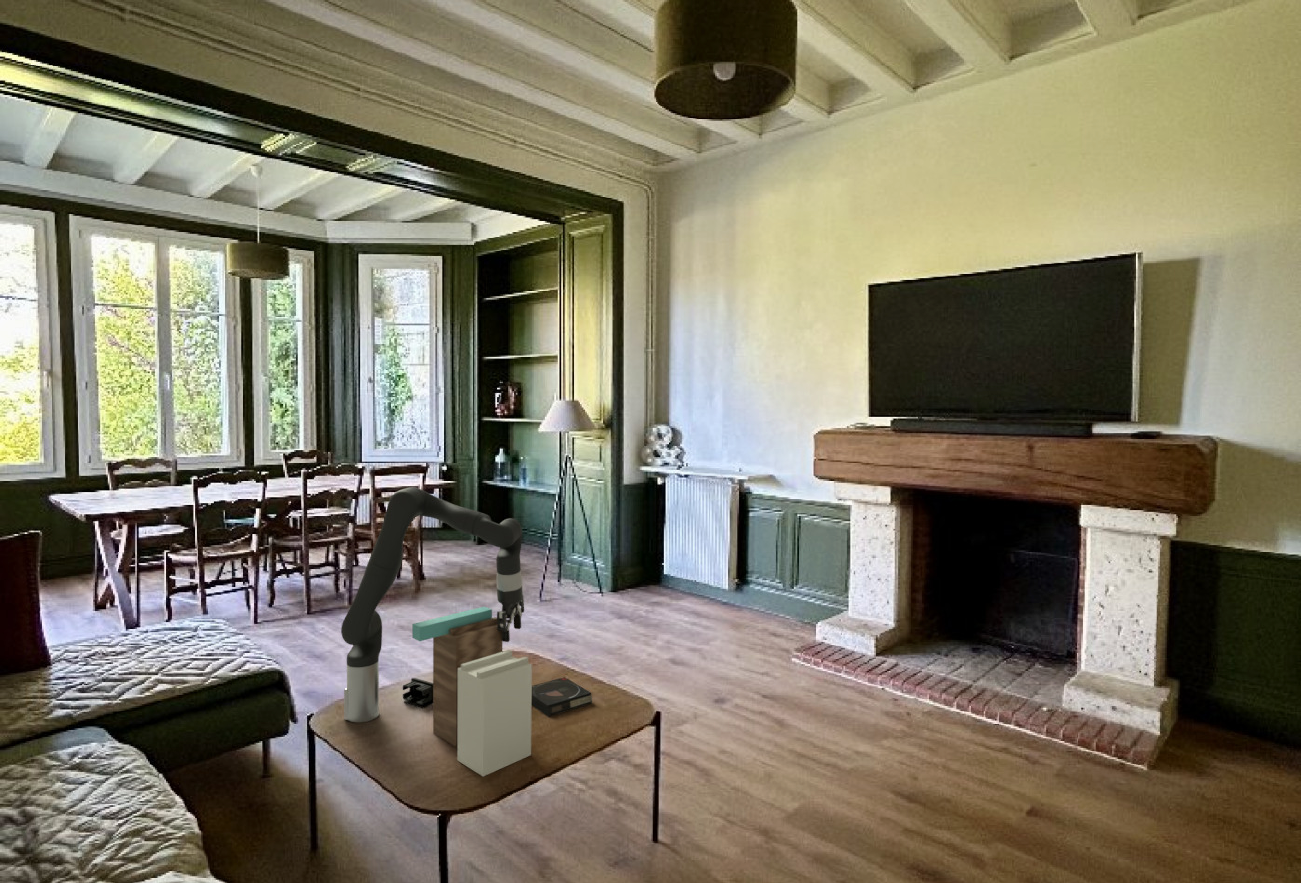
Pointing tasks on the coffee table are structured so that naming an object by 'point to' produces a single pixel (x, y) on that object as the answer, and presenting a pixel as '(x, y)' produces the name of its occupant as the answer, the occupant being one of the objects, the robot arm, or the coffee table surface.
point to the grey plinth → (494, 712)
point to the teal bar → (448, 623)
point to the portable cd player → (559, 696)
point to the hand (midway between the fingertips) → (511, 634)
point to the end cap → (418, 693)
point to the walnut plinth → (446, 661)
